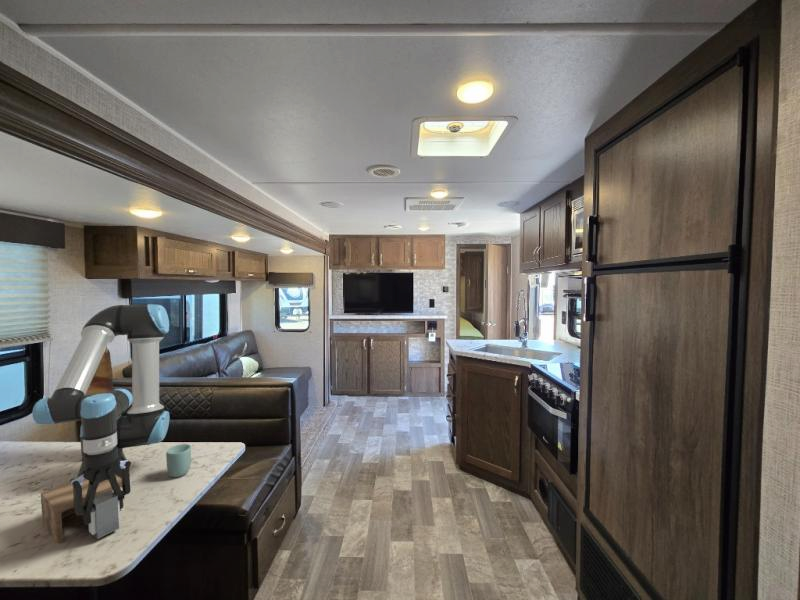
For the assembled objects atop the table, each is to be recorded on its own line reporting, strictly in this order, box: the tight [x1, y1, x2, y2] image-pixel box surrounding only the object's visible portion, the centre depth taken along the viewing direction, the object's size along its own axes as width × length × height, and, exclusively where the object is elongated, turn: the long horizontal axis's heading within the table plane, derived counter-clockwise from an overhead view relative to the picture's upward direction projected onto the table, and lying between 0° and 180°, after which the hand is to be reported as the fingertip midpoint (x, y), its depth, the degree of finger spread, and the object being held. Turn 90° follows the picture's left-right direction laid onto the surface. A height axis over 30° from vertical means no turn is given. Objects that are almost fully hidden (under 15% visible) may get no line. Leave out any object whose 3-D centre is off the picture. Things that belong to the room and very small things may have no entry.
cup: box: [165, 443, 192, 478], centre depth 132 cm, size 8×8×10 cm
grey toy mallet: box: [92, 490, 120, 540], centre depth 104 cm, size 15×5×10 cm, turn 58°
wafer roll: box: [85, 347, 114, 395], centre depth 146 cm, size 10×11×45 cm
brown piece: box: [40, 475, 122, 544], centre depth 108 cm, size 14×16×10 cm
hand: (104, 526), depth 101 cm, fingers closed on grey toy mallet, 5 cm apart
